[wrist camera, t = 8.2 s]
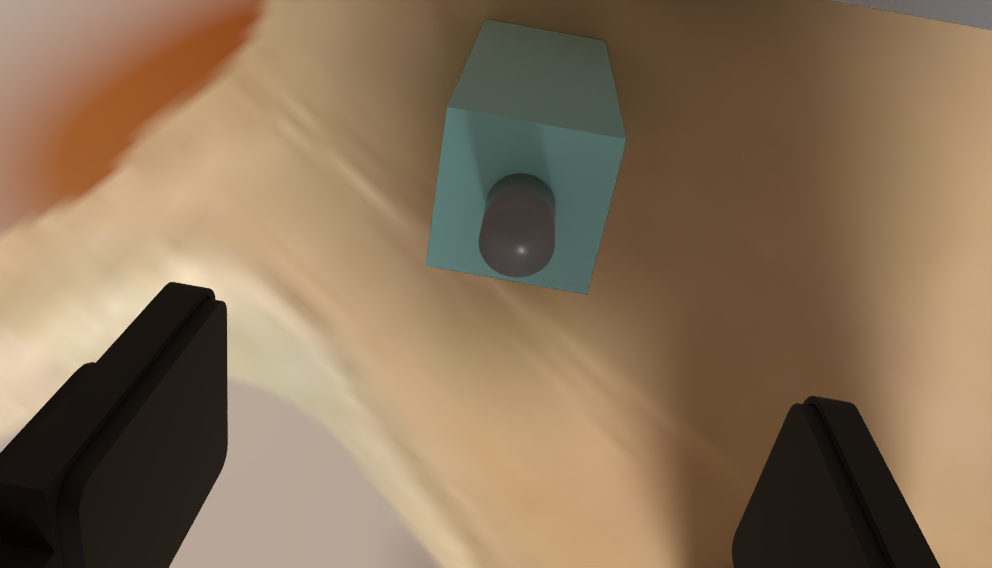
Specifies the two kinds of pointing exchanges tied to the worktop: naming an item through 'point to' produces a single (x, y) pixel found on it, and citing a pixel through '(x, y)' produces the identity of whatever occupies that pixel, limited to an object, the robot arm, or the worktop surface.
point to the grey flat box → (937, 10)
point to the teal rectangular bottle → (528, 159)
